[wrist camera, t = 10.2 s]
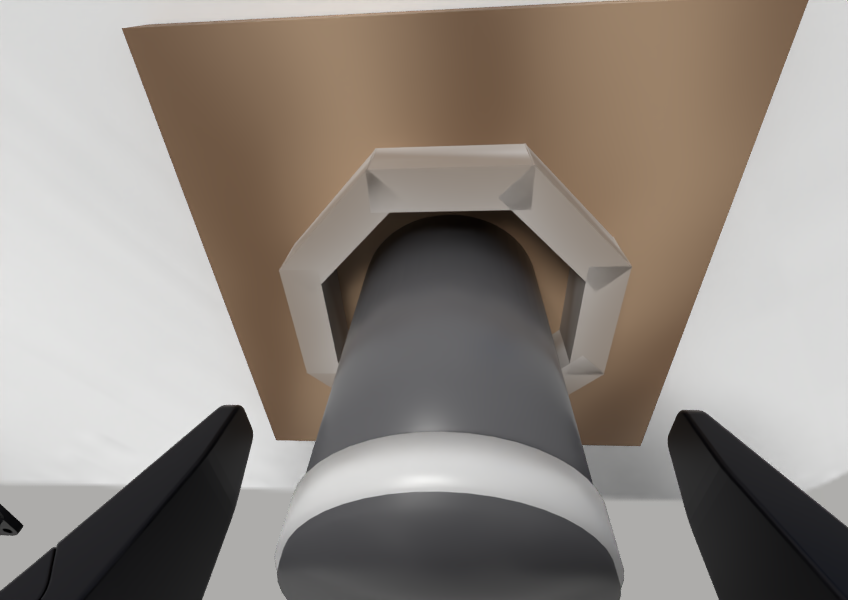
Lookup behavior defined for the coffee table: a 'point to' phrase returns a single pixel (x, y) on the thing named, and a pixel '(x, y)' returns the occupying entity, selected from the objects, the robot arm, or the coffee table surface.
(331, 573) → the lens cylinder
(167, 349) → the coffee table surface
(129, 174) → the coffee table surface
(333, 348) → the collar holder
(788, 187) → the coffee table surface
